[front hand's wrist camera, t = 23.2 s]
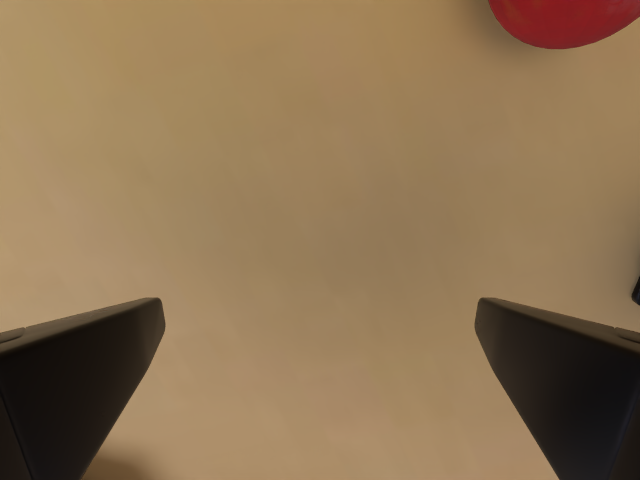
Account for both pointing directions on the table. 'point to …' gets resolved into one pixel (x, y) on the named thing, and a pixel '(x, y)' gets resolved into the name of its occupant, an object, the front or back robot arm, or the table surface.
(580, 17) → the eyeball
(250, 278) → the table surface
